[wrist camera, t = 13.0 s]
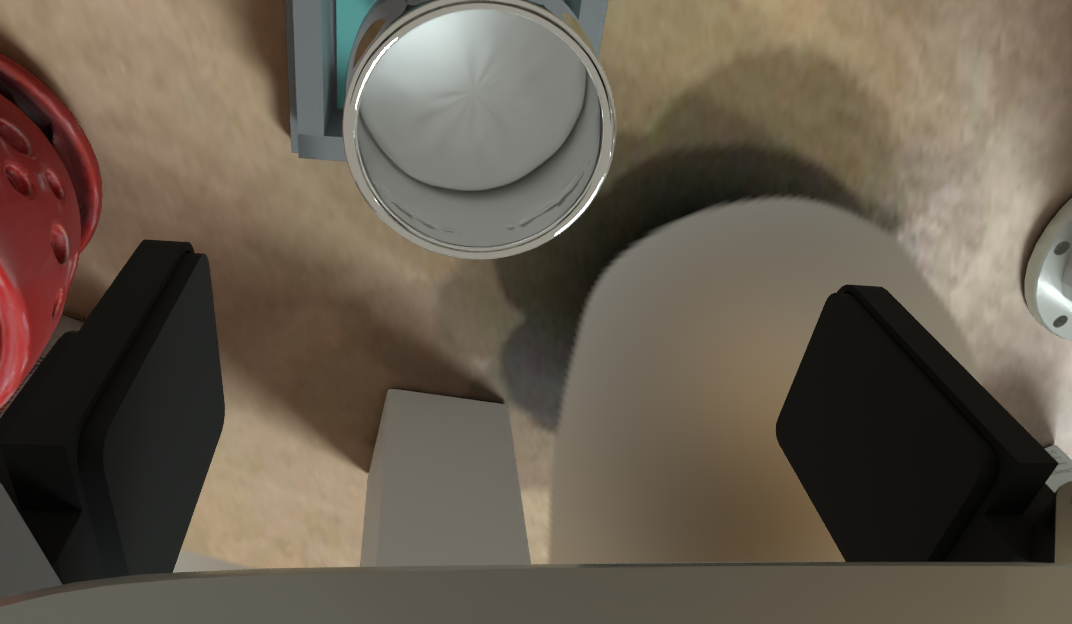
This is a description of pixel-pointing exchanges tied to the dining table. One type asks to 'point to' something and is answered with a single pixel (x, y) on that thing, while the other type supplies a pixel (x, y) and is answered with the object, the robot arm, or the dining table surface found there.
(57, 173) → the plant pot
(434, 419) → the milk carton
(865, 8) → the dining table surface
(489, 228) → the silver metal cup
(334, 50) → the gray divided sorting tray
